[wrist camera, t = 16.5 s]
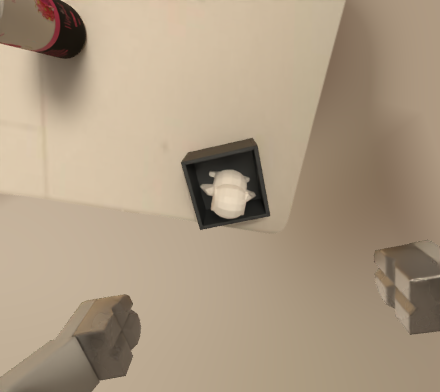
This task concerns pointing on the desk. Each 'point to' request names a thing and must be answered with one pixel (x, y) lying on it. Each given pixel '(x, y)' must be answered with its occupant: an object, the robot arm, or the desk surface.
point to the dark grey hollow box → (218, 161)
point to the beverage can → (42, 27)
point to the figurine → (228, 193)
